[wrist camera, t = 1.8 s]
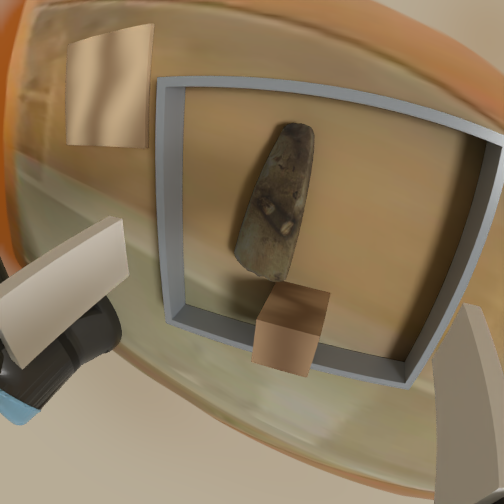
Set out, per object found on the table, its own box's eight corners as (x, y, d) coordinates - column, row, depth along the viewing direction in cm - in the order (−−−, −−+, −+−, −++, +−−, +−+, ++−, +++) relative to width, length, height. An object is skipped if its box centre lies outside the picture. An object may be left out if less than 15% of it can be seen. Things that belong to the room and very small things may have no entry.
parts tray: (179, 307, 35) (165, 323, 32) (177, 78, 23) (157, 77, 20) (408, 368, 28) (408, 389, 26) (497, 134, 16) (513, 139, 14)
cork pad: (69, 144, 30) (66, 144, 29) (71, 44, 24) (67, 44, 24) (148, 147, 27) (145, 148, 26) (154, 24, 21) (151, 23, 21)
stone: (289, 276, 28) (282, 289, 26) (237, 257, 29) (227, 269, 27) (328, 129, 21) (324, 131, 19) (265, 113, 22) (255, 114, 20)
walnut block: (270, 320, 31) (251, 361, 26) (277, 279, 29) (256, 319, 24) (319, 333, 30) (306, 377, 25) (330, 292, 27) (320, 336, 22)
